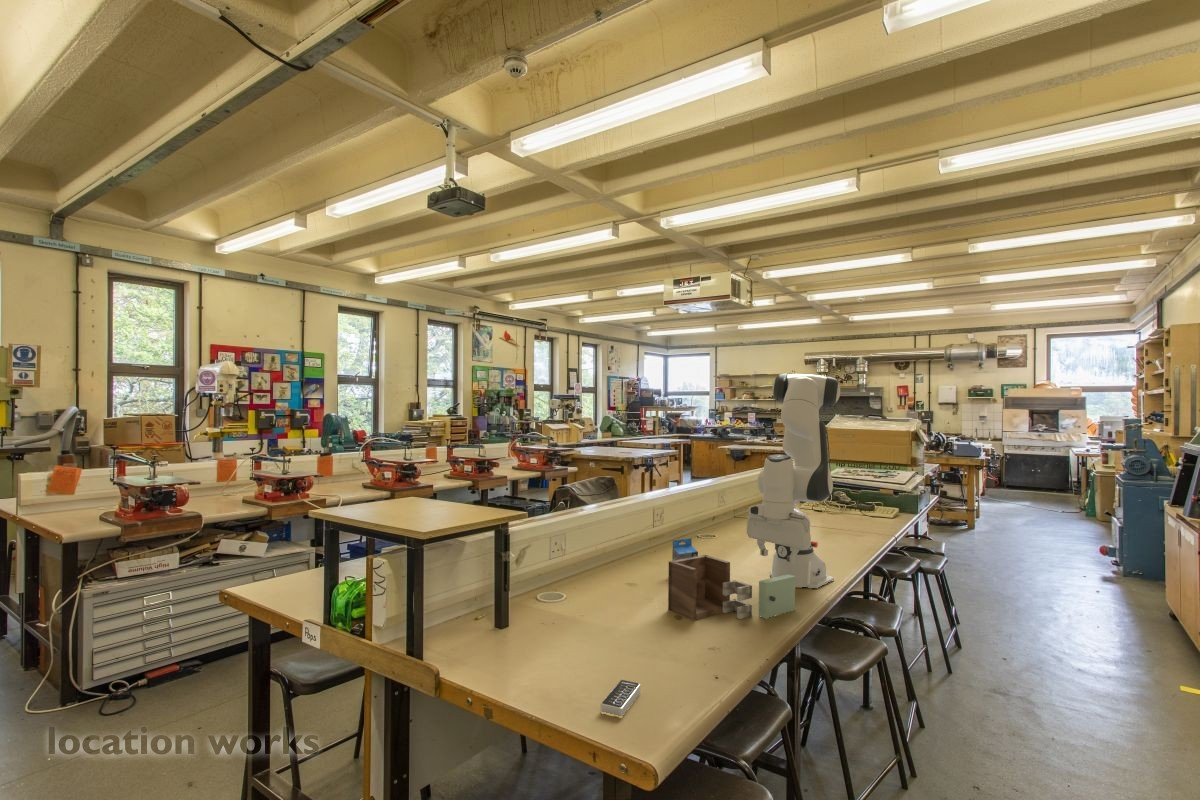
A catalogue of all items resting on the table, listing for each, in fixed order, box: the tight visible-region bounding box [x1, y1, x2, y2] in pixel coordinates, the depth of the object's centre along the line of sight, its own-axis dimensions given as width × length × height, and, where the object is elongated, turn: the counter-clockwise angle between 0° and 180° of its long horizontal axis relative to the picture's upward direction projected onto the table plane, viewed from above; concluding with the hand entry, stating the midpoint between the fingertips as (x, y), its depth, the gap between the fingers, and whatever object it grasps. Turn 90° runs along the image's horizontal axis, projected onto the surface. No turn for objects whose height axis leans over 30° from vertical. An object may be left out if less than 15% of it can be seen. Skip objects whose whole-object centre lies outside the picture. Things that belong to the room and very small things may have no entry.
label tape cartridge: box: [671, 537, 699, 561], centre depth 202 cm, size 9×4×12 cm, turn 120°
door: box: [758, 574, 796, 619], centre depth 164 cm, size 13×4×10 cm, turn 125°
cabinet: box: [667, 554, 753, 621], centre depth 164 cm, size 17×16×14 cm
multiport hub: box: [600, 679, 641, 716], centre depth 112 cm, size 4×11×2 cm, turn 157°
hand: (777, 559), depth 164 cm, fingers open, 8 cm apart
